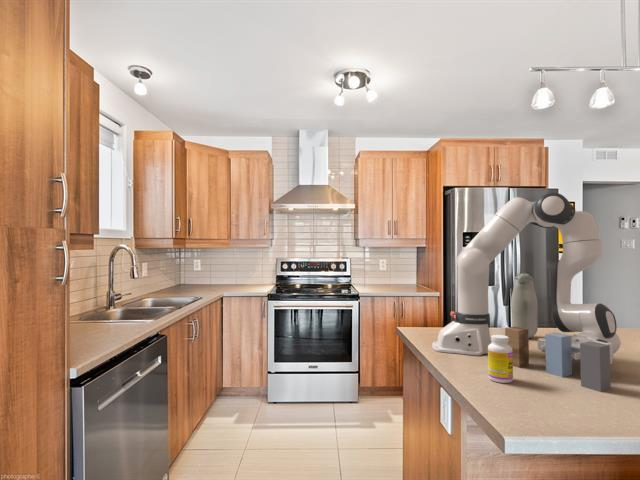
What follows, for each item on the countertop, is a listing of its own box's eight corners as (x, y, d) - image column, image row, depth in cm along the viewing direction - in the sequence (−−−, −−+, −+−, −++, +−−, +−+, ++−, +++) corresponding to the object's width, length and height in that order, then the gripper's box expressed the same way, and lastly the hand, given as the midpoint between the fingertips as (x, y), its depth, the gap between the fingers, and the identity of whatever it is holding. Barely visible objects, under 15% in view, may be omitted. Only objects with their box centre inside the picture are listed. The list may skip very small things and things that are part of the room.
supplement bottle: (511, 385, 109) (511, 340, 109) (486, 381, 112) (485, 337, 113) (514, 378, 114) (513, 335, 115) (490, 374, 118) (489, 333, 118)
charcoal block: (600, 391, 103) (599, 347, 104) (581, 386, 108) (580, 343, 108) (610, 388, 106) (609, 345, 106) (591, 383, 110) (590, 341, 110)
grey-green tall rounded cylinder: (508, 334, 172) (507, 272, 173) (532, 335, 171) (531, 272, 172) (516, 340, 162) (515, 274, 163) (542, 340, 161) (540, 274, 162)
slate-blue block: (562, 377, 115) (561, 337, 116) (545, 372, 120) (545, 334, 120) (571, 374, 118) (571, 335, 118) (555, 370, 122) (554, 332, 122)
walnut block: (519, 367, 125) (518, 330, 125) (505, 363, 129) (505, 328, 130) (529, 365, 127) (528, 329, 127) (515, 361, 132) (514, 326, 132)
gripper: (551, 331, 135) (526, 335, 128) (618, 344, 116) (592, 349, 110) (551, 349, 134) (526, 354, 128) (618, 365, 116) (593, 371, 110)
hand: (557, 352), depth 119 cm, fingers open, 8 cm apart
